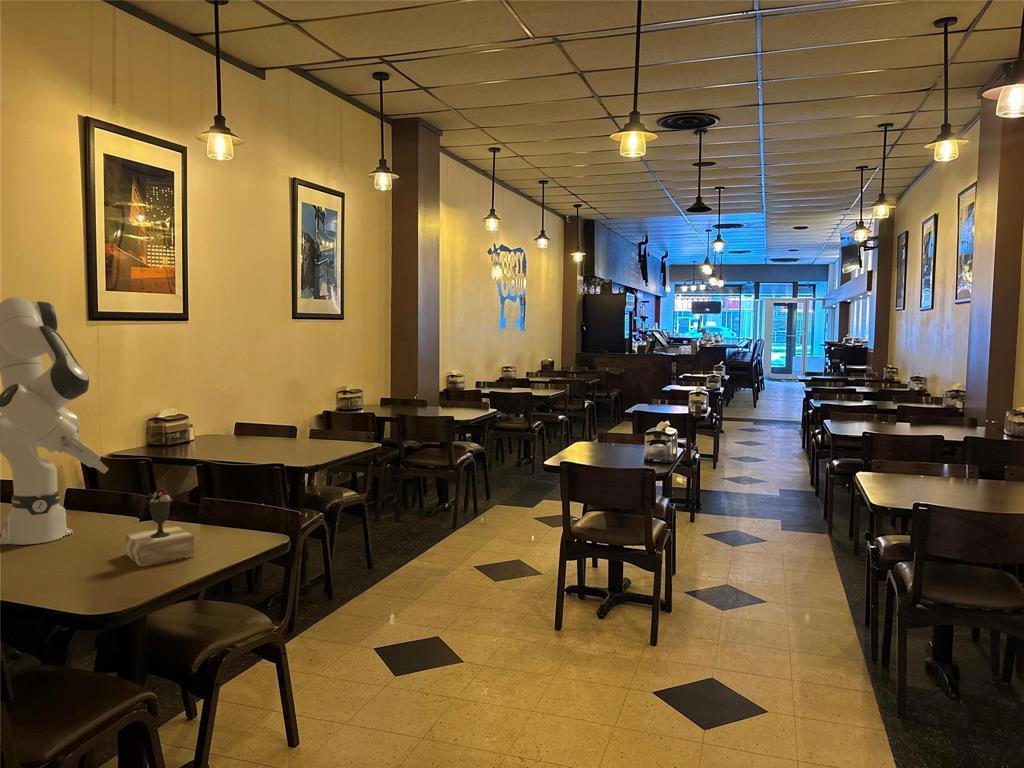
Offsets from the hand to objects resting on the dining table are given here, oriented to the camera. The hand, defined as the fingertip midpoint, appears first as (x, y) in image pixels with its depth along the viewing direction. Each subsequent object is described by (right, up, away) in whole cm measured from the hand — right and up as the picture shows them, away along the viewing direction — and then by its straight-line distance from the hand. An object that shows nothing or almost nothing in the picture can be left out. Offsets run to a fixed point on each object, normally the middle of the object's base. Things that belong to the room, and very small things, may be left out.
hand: (101, 468), depth 194 cm
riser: (+11, -26, +10) cm, 30 cm away
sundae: (+12, -20, +9) cm, 25 cm away
